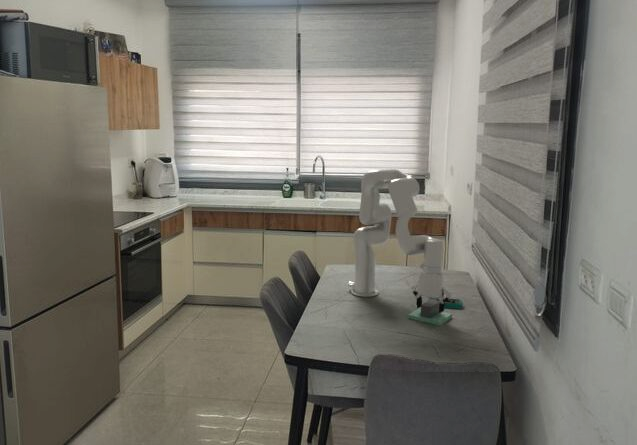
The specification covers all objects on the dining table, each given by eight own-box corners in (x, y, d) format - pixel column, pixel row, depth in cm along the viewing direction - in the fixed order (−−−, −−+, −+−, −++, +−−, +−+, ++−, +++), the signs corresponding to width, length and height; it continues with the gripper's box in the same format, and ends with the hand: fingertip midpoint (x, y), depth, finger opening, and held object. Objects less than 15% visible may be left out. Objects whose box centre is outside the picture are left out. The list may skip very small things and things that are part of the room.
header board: (408, 318, 224) (408, 307, 223) (420, 310, 233) (421, 300, 232) (440, 325, 216) (440, 314, 215) (451, 317, 225) (452, 306, 224)
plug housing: (420, 316, 222) (421, 304, 221) (429, 310, 229) (430, 299, 228) (430, 318, 219) (431, 307, 218) (439, 312, 227) (440, 301, 226)
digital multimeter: (462, 310, 236) (462, 303, 235) (427, 307, 239) (427, 300, 239) (462, 305, 243) (462, 298, 242) (428, 302, 246) (428, 295, 246)
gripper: (408, 267, 223) (406, 307, 226) (449, 274, 213) (446, 316, 216) (416, 264, 229) (414, 303, 232) (456, 270, 219) (453, 311, 222)
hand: (430, 309), depth 224 cm, fingers open, 9 cm apart
